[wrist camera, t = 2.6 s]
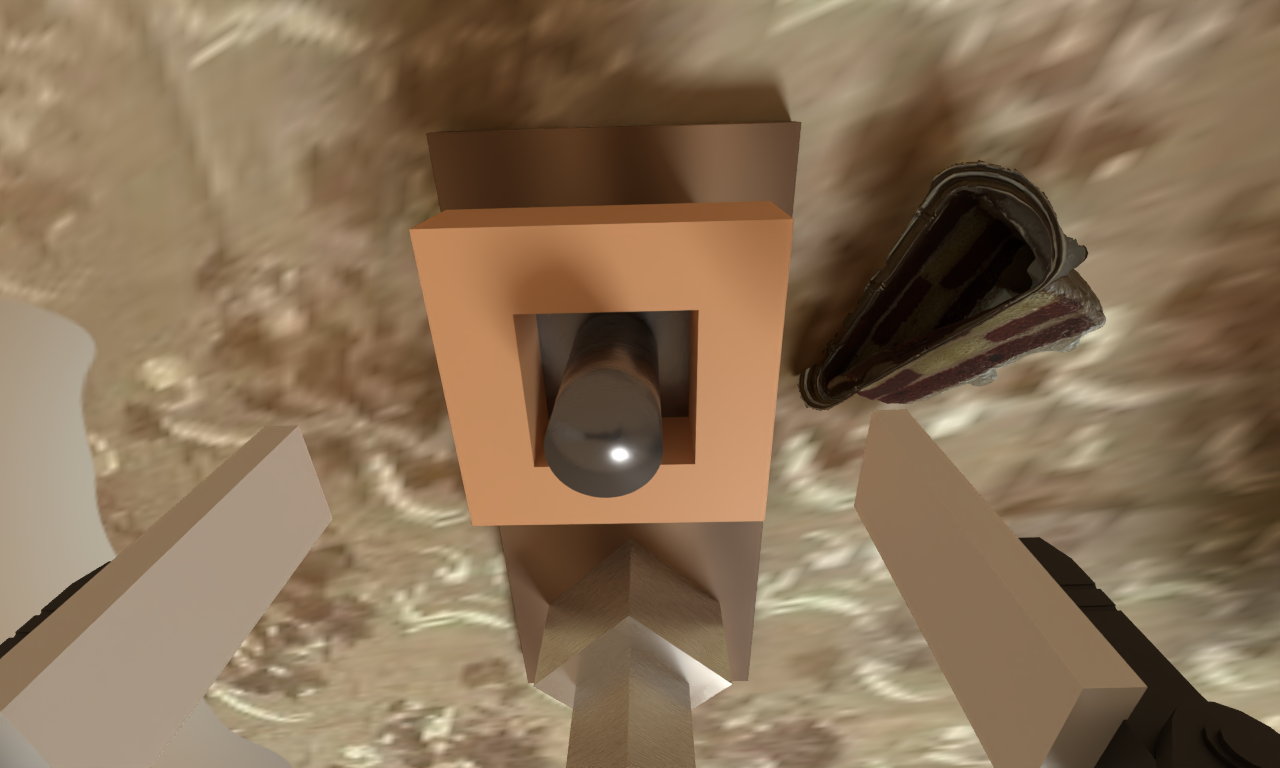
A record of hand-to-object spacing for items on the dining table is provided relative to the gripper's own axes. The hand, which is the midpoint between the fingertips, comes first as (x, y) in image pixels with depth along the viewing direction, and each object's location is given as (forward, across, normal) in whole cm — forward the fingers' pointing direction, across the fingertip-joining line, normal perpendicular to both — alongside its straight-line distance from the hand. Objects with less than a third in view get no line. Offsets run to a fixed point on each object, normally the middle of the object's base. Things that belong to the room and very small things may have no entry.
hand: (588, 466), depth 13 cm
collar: (+7, 0, 0) cm, 7 cm away
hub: (+12, 0, +18) cm, 22 cm away
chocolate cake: (+14, -15, +2) cm, 20 cm away
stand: (+12, 0, 0) cm, 12 cm away
